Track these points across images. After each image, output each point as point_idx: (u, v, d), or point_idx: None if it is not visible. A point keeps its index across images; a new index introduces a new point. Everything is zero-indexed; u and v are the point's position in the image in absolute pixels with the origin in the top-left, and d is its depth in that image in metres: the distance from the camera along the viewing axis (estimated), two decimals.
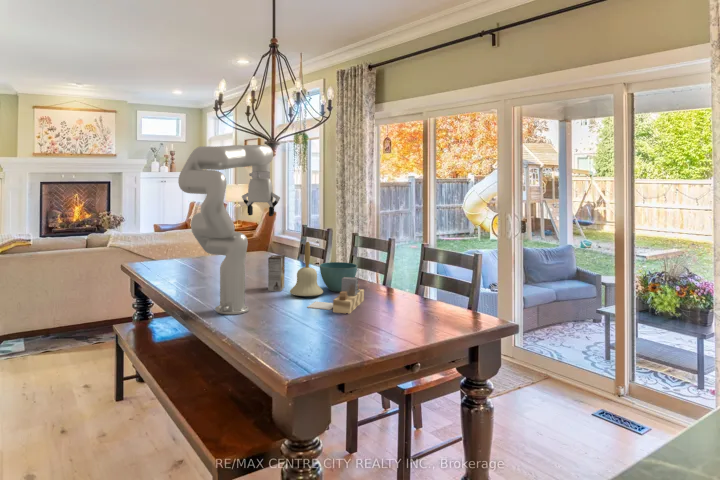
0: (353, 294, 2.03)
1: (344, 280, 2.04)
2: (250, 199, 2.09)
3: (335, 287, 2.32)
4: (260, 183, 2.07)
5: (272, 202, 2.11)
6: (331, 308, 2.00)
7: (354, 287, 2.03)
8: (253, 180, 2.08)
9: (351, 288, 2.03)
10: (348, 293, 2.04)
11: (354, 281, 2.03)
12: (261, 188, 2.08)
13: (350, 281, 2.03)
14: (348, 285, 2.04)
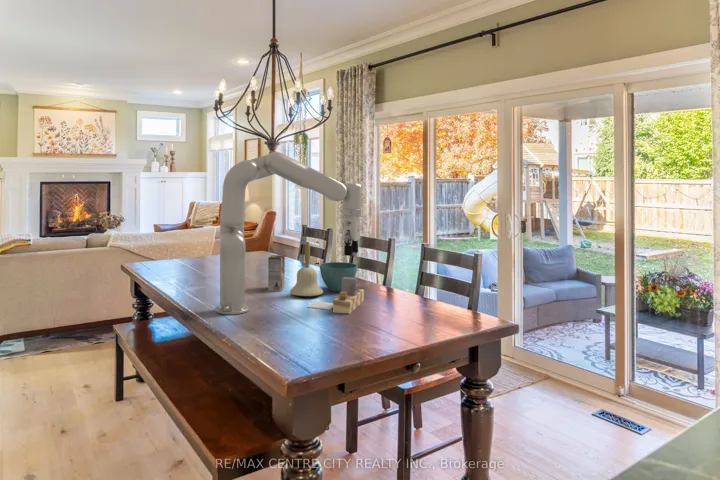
0: (353, 294, 2.03)
1: (344, 280, 2.04)
2: (355, 238, 1.99)
3: (335, 287, 2.32)
4: (358, 220, 2.03)
5: None
6: (331, 308, 2.00)
7: (354, 287, 2.03)
8: (356, 218, 1.99)
9: (351, 288, 2.03)
10: (348, 293, 2.04)
11: (354, 281, 2.03)
12: (359, 226, 2.04)
13: (350, 281, 2.03)
14: (348, 285, 2.04)
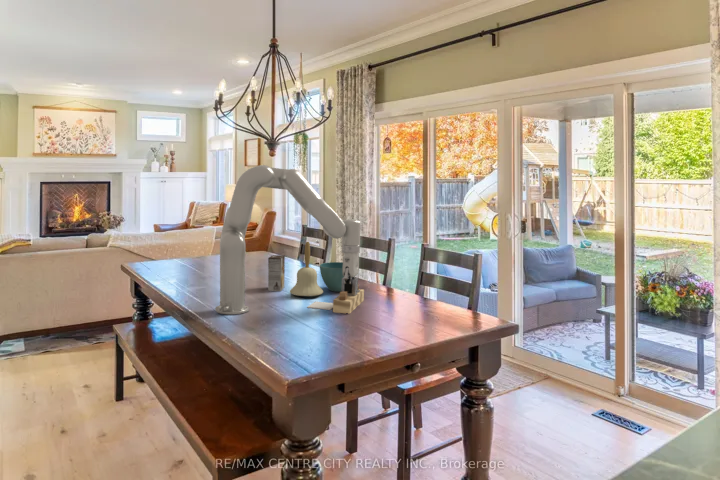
0: (353, 294, 2.03)
1: (344, 280, 2.04)
2: (354, 274, 2.01)
3: (335, 287, 2.32)
4: (357, 256, 2.04)
5: None
6: (331, 308, 2.00)
7: (354, 287, 2.03)
8: (355, 254, 2.01)
9: None
10: (348, 293, 2.04)
11: (354, 281, 2.03)
12: (357, 261, 2.05)
13: None
14: None
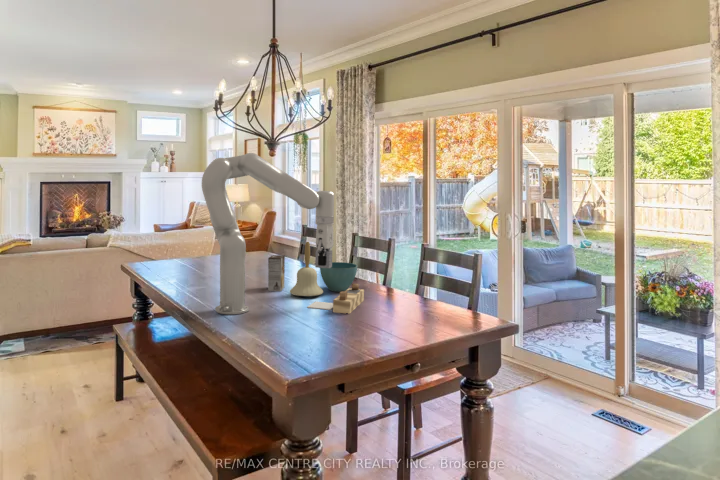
0: (327, 266, 2.01)
1: None
2: (327, 246, 1.98)
3: (335, 287, 2.32)
4: (331, 228, 2.02)
5: None
6: (331, 308, 2.00)
7: (328, 259, 2.00)
8: (328, 226, 1.98)
9: None
10: None
11: (328, 253, 2.00)
12: (332, 233, 2.03)
13: None
14: None
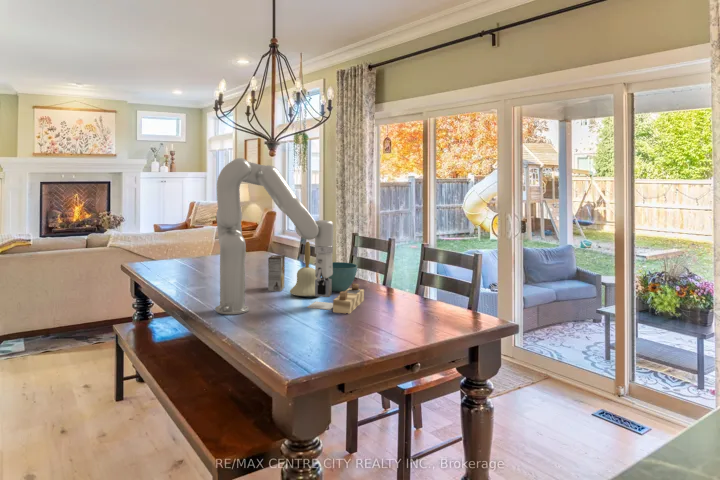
0: (326, 295, 2.02)
1: None
2: (327, 276, 1.99)
3: (335, 287, 2.32)
4: (330, 257, 2.03)
5: None
6: (331, 308, 2.00)
7: (327, 288, 2.02)
8: (328, 255, 2.00)
9: (325, 290, 2.02)
10: None
11: (327, 282, 2.01)
12: (331, 262, 2.04)
13: None
14: None
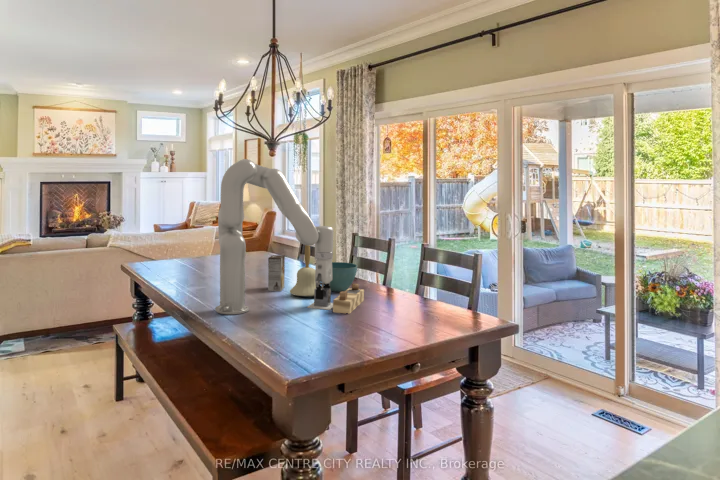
0: (326, 305, 2.02)
1: None
2: (326, 281, 2.00)
3: (335, 287, 2.32)
4: (330, 263, 2.03)
5: None
6: (331, 308, 2.00)
7: (327, 298, 2.02)
8: (327, 261, 2.00)
9: (324, 299, 2.02)
10: (321, 304, 2.03)
11: (327, 292, 2.02)
12: (331, 268, 2.04)
13: None
14: None
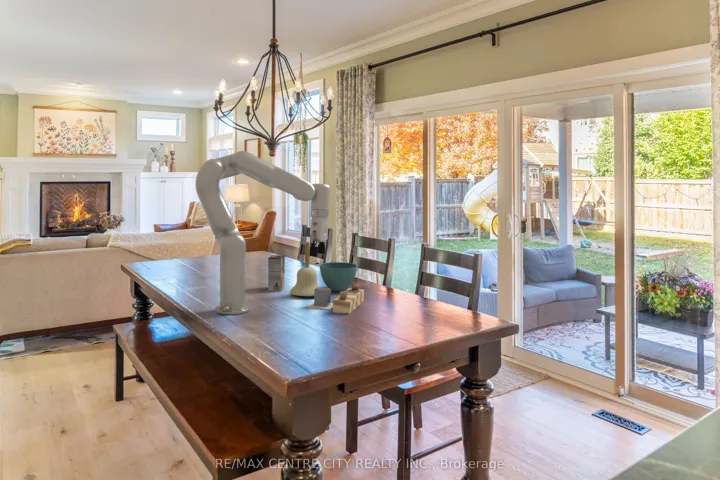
0: (326, 305, 2.02)
1: (317, 291, 2.03)
2: (321, 239, 1.97)
3: (335, 287, 2.32)
4: (326, 221, 2.01)
5: None
6: (331, 308, 2.00)
7: (327, 298, 2.02)
8: (323, 219, 1.98)
9: (324, 299, 2.02)
10: (321, 304, 2.03)
11: (327, 292, 2.02)
12: (326, 227, 2.02)
13: (323, 292, 2.02)
14: (321, 296, 2.03)
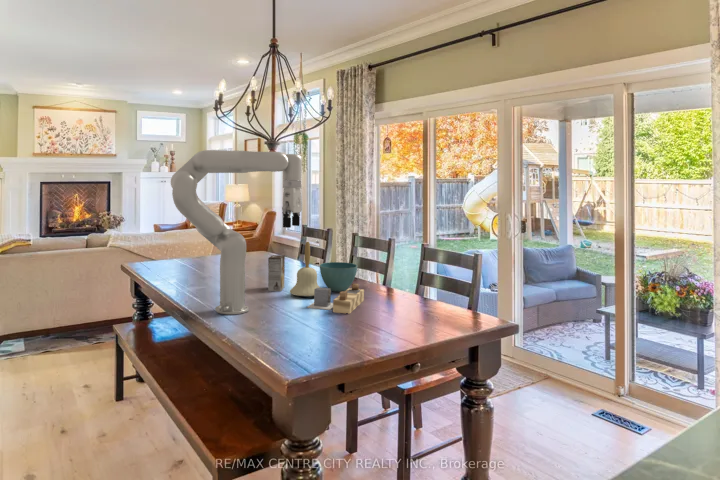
0: (326, 305, 2.02)
1: (317, 291, 2.03)
2: (294, 210, 1.96)
3: (335, 287, 2.32)
4: (299, 192, 1.99)
5: None
6: (331, 308, 2.00)
7: (327, 298, 2.02)
8: (295, 189, 1.96)
9: (324, 299, 2.02)
10: (321, 304, 2.03)
11: (327, 292, 2.02)
12: (299, 198, 2.00)
13: (323, 292, 2.02)
14: (321, 296, 2.03)
